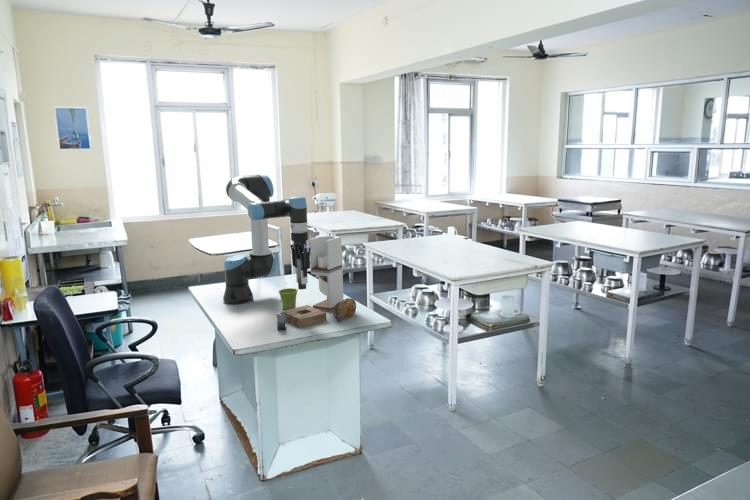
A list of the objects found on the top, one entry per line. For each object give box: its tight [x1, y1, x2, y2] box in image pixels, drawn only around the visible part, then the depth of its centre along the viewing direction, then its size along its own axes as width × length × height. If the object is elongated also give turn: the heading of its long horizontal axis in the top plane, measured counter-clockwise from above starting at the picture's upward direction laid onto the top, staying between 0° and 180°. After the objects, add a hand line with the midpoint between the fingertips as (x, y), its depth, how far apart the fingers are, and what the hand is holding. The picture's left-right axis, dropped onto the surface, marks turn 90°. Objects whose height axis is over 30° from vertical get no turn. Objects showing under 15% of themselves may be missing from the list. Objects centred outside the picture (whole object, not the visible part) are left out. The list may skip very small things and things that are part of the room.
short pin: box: [276, 312, 287, 332], centre depth 230 cm, size 4×4×7 cm
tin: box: [333, 297, 357, 322], centre depth 244 cm, size 15×3×8 cm, turn 148°
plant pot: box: [278, 287, 299, 310], centre depth 262 cm, size 9×9×9 cm
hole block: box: [281, 304, 327, 329], centre depth 242 cm, size 16×14×4 cm
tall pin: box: [297, 258, 307, 290], centre depth 238 cm, size 4×4×14 cm
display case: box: [308, 234, 345, 313], centre depth 257 cm, size 11×11×35 cm
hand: (302, 282), depth 239 cm, fingers closed on tall pin, 4 cm apart
